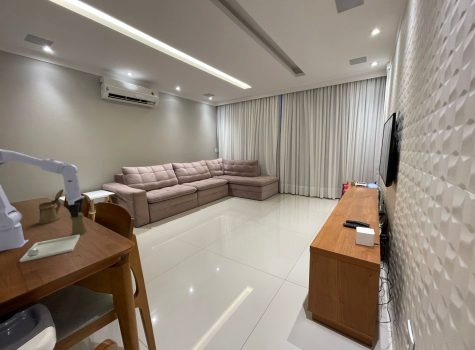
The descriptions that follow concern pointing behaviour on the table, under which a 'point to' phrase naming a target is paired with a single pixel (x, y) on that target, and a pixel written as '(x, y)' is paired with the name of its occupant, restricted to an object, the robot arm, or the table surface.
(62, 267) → the table surface
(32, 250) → the mixing ball
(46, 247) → the tray
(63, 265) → the table surface
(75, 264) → the table surface
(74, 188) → the robot arm
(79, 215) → the cork
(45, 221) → the wooden mug
